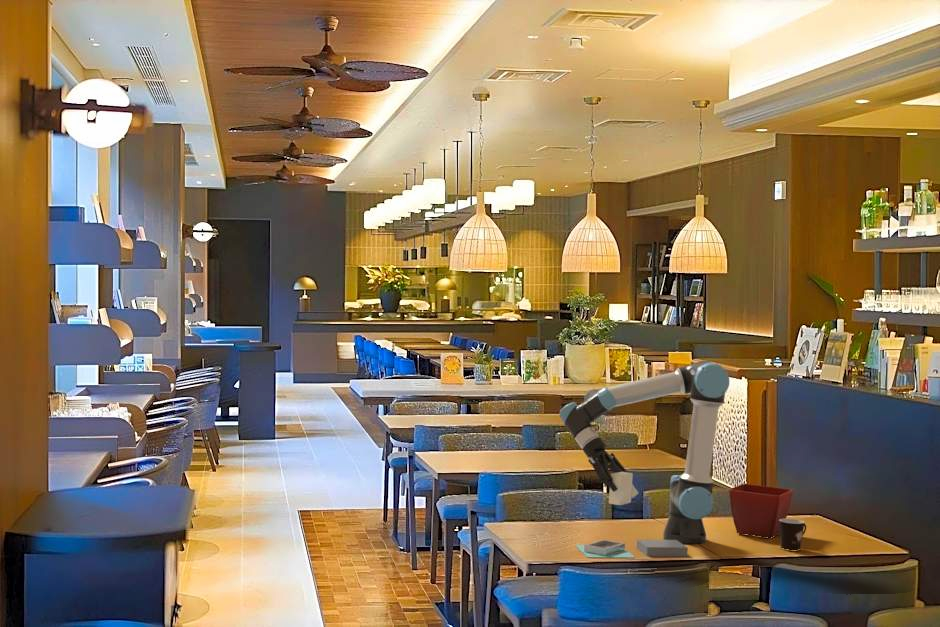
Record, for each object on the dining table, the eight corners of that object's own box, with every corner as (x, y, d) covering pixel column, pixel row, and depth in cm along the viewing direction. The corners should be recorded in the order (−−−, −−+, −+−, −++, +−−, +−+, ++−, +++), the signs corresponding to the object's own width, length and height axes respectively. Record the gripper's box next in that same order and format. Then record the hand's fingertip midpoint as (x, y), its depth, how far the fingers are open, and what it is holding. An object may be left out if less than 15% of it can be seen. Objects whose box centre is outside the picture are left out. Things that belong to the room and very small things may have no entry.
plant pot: (792, 534, 447) (794, 489, 447) (777, 542, 431) (779, 495, 430) (741, 527, 457) (743, 483, 456) (725, 535, 440) (728, 489, 440)
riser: (636, 548, 411) (637, 539, 411) (676, 548, 413) (676, 539, 413) (646, 556, 399) (647, 547, 399) (687, 556, 401) (687, 547, 401)
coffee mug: (784, 552, 414) (785, 523, 414) (773, 546, 422) (774, 518, 422) (815, 552, 416) (817, 523, 416) (804, 546, 425) (805, 518, 424)
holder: (583, 551, 401) (584, 544, 401) (602, 546, 411) (603, 539, 411) (606, 555, 396) (606, 549, 396) (624, 550, 406) (625, 543, 406)
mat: (575, 545, 411) (575, 544, 411) (620, 546, 413) (620, 545, 413) (587, 557, 393) (587, 556, 393) (634, 558, 396) (634, 557, 396)
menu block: (608, 503, 402) (610, 473, 402) (620, 500, 408) (622, 471, 408) (619, 505, 399) (621, 475, 399) (630, 502, 406) (632, 473, 406)
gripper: (582, 438, 401) (620, 493, 392) (613, 434, 418) (651, 487, 408) (567, 451, 404) (605, 506, 395) (599, 447, 421) (636, 500, 412)
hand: (629, 496), depth 402 cm, fingers closed on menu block, 8 cm apart
